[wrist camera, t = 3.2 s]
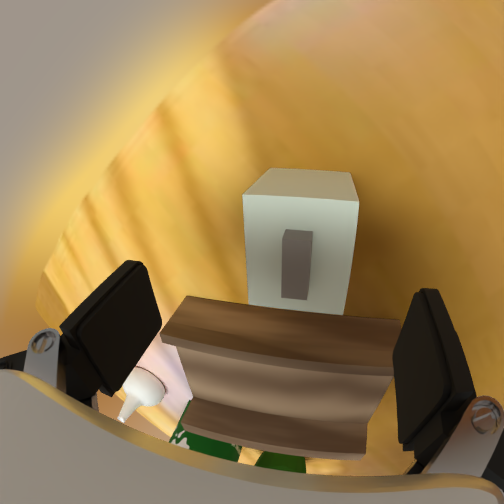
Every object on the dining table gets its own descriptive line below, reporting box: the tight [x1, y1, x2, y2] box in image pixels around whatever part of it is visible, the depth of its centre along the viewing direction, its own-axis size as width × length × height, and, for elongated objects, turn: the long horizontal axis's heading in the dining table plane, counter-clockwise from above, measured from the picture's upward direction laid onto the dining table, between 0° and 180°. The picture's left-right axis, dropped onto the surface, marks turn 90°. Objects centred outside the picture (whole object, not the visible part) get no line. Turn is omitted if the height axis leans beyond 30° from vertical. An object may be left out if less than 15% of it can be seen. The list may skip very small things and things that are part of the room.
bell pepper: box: [254, 451, 306, 474], centre depth 32 cm, size 8×8×10 cm
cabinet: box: [242, 168, 359, 315], centre depth 15 cm, size 5×6×7 cm
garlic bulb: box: [118, 367, 165, 422], centre depth 31 cm, size 6×6×8 cm
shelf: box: [159, 296, 401, 460], centre depth 22 cm, size 13×18×7 cm
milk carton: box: [169, 400, 242, 462], centre depth 26 cm, size 9×9×20 cm
